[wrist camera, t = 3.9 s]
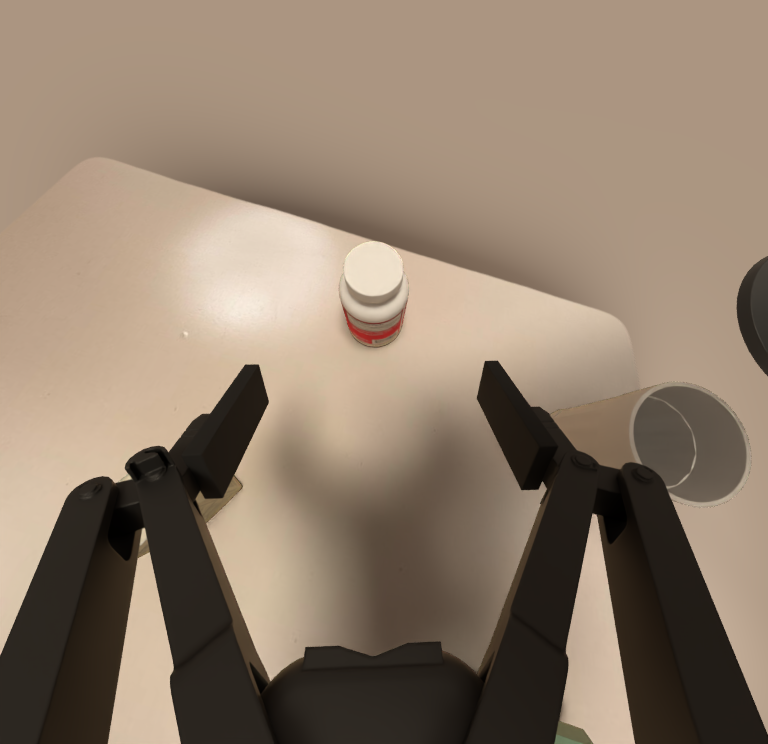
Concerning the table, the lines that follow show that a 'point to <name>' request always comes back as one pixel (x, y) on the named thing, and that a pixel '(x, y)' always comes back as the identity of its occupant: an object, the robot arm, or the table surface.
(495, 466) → the table surface
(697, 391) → the cup
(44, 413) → the table surface
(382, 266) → the pill bottle
